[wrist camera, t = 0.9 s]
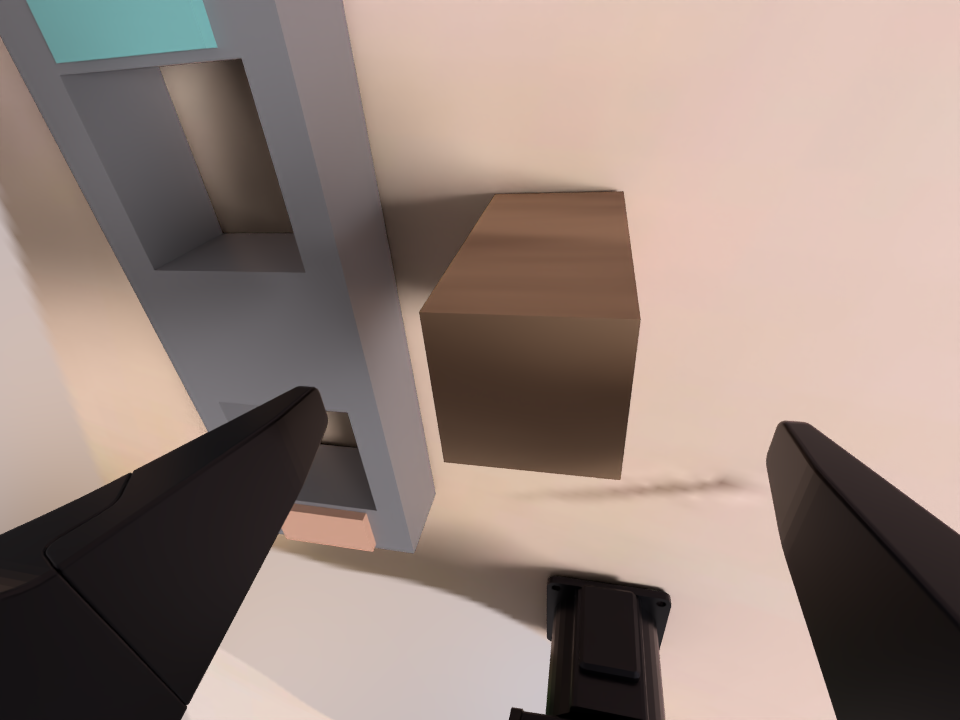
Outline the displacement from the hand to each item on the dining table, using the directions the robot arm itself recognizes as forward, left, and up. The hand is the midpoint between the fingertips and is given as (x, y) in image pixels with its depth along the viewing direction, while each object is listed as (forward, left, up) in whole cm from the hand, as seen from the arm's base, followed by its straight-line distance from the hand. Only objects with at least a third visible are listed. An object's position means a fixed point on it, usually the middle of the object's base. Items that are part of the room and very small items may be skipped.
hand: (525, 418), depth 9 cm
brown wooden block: (0, 0, -8) cm, 8 cm away
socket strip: (-2, +10, -8) cm, 13 cm away
